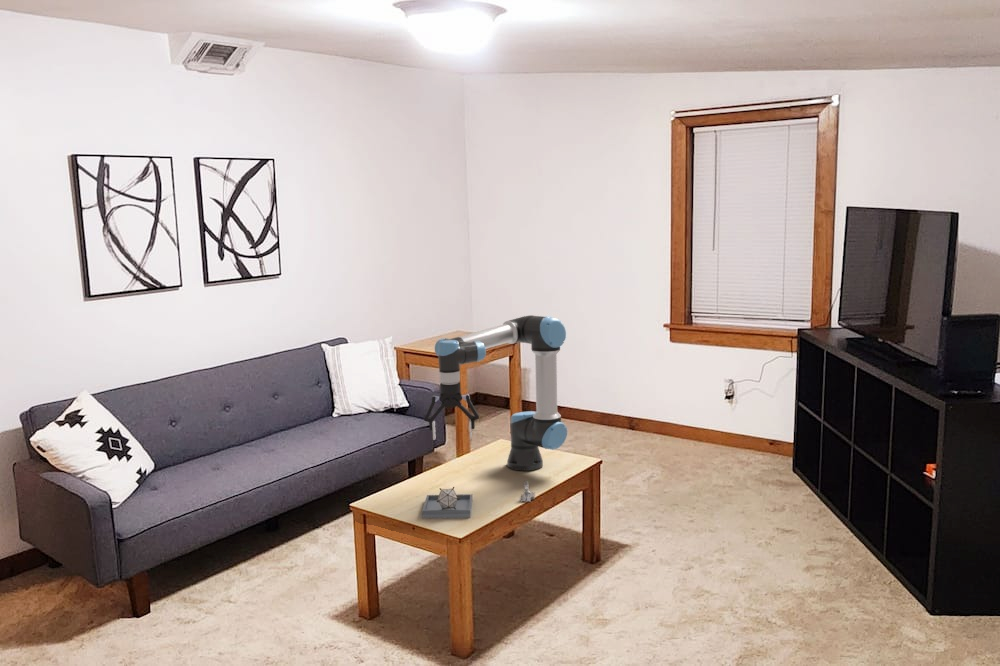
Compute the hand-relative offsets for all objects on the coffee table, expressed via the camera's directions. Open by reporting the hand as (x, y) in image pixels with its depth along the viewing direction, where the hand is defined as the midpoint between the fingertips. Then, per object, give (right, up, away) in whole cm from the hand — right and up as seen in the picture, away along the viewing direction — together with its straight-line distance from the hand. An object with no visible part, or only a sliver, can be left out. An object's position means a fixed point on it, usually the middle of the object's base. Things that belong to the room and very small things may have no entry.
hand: (452, 438), depth 308 cm
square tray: (-2, -26, -3) cm, 26 cm away
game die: (-2, -23, -4) cm, 24 cm away
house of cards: (+30, -25, +5) cm, 39 cm away
